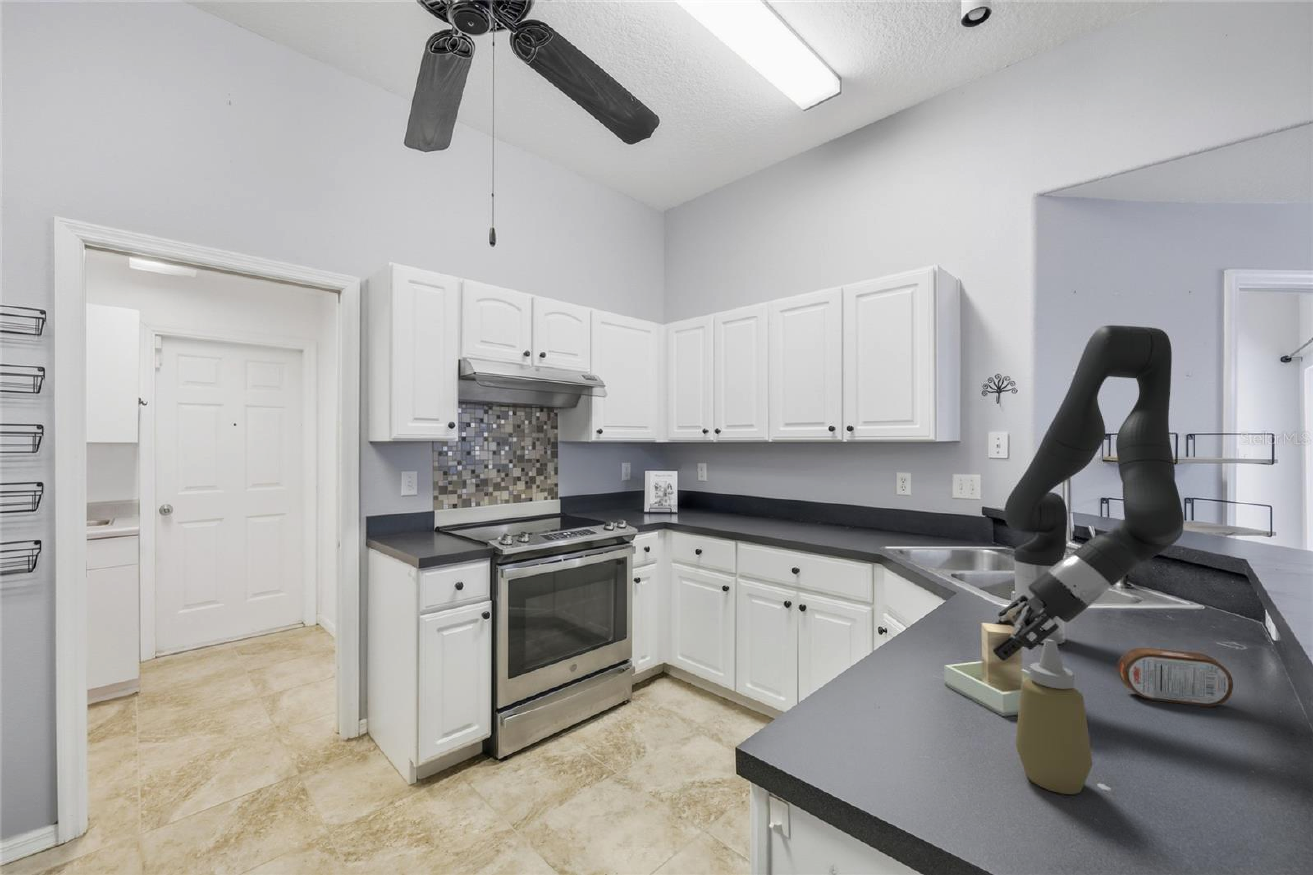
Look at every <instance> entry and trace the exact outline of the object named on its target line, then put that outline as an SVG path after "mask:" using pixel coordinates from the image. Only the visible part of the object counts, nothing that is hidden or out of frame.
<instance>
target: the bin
mask: <svg viewBox="0 0 1313 875" xmlns="http://www.w3.org/2000/svg"><path fill="white" fill-rule="evenodd" d="M943 666H944V673H943V674H944V686H946V687H948V688H950V689H952V690H953V691H955V692H957V693H960V694H961V695H963V696H965V697H966V698H968V699H970V700H972V701H973V702H976V703H978V704H979V705H981V706H983V707H984V708H987V709H989V710H990V711H992V712H995V713H996V714H997V715H1000V716H1002V717H1008V716H1009V717H1010V716H1015V715H1018V713H1019V704H1020V694H1021V690H1015V691H1007V692H1001V691H999V690H997V689H995V688H993V687H991V686H989V685H987V684H985V683H983V682H982V660H980V661H972V662H965V663H964V662H963V663H956V664H955V663H954V664H947V665H946V664H945V665H943ZM1029 678H1030V670H1029V671H1028V670H1026V669H1024V668H1022V682H1024V681H1025V680H1027V679H1029Z"/></svg>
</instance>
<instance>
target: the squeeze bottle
mask: <svg viewBox="0 0 1313 875" xmlns="http://www.w3.org/2000/svg"><path fill="white" fill-rule="evenodd" d="M1029 672H1030V678H1029V679H1027V680H1025V681H1024V682H1022V684H1021V694H1020V704H1019V713H1018V714H1017V715H1018V716H1017V725H1016V734H1015V735H1016V736H1015V747H1016V750H1017V753H1018V756H1019V759H1020V761H1021V764H1022V766H1023V770H1024V772H1025V776H1026V777H1027V778H1028V779H1029V780H1030V781H1031V782H1032V783H1034V784H1035V785H1038V786H1039V787H1041V788H1043V789H1046V790H1048V791H1050V792H1055V793H1058V794H1064V795H1075V794H1079V793H1081V791H1082V789H1083V788H1084V785H1085V784H1086V781H1087V778H1088V776H1089V774H1090V772H1091V769H1092V767H1093V764H1094V763H1093V756H1092V751H1091V743H1090V736H1089V728H1088V723H1087V721H1088V720H1087V714H1086V709H1085V708H1086V707H1085V701H1084V695H1083V693H1081V692H1080V691H1079V690H1078V689H1077V688H1076V687H1074V686H1075V679H1074V678H1075V676H1074V673H1073V671H1072V670H1070V669H1069V668H1066V667H1064V666H1063V662H1062V659H1061V655H1060V652H1059V647H1058V644H1057V643H1056V641H1055V640H1051V639H1045V642H1044V643H1043V647H1042V651H1041V656H1040V658H1039V662H1033V663H1031V664H1030V665H1029Z"/></svg>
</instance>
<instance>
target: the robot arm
mask: <svg viewBox="0 0 1313 875" xmlns="http://www.w3.org/2000/svg"><path fill="white" fill-rule="evenodd" d="M1171 344H1172V343H1171V341H1170V337H1169V335H1168V334H1167V333H1166V332H1165V331H1164V330H1163V329H1160V328H1156V327H1149V326H1134V325H1132V326H1131V325H1113V324H1112V325H1103V326H1100V327H1099V328H1098V329H1096V331H1095V332H1093V334H1092V336H1090V338H1089V339H1088V341H1087V343H1086V345H1085V348H1084V349H1083V353H1082V354H1081V356H1080V360H1079V362H1078V365H1077V367H1076V370H1075V373H1074V376H1073V378H1072V380H1071V383H1070V385H1069V388H1068V390H1067V392H1066V395H1065V397H1064V398H1063V401H1062V402H1061V404H1060V406H1059V408H1058V410H1057V412H1056V415H1055V416H1054V418H1053V420H1052V422H1051V423H1050V424H1049V427H1048V429H1047V431H1046V433H1045V434H1044V436H1043V438H1042V441H1041V443H1040V446H1039V447H1038V449H1037V451H1036V453H1035V454H1034V457H1033V459H1032V461H1031V462H1030V464H1029V466H1028V468H1027V469H1026V471H1025V472H1024V473H1023V476H1022V477H1021V478H1020V480H1019V481H1018V483H1017V484H1016V485H1015V486H1014V488H1013V490H1012V491H1011V493H1010V494H1009V496H1008V498H1007V500H1006V502H1005V506H1004V511H1003V512H1004V513H1003V514H1004V515H1003V516H1004V521H1005V523H1006V525H1007V526H1008V528H1010V529H1012V530H1013V531H1016V532H1022V533H1036V534H1035V537H1033V539H1032V540H1030V541H1028V542H1027V543H1024V544H1022V545H1019V546H1017V547H1016V548H1015V549H1014V554H1013V556H1014V557H1013V558H1014V559H1013V562H1014V563H1013V564H1014V590H1012V591H1011V592H1010V604H1009V605H1007V606H1006V607H1005V608H1004V609H1002V610H1001V611H1000V612H998V614H997V616H998V618H997V621H996V622H995V623H994V624H999V625H1010V626H1014V627H1015V630H1014V631H1013V633H1012V634H1011V636H1010V637H1007V638H1006V639H1005V640H1004V641H1002V642H1001V643H1000V644H998V645H997V646H996V647H995V648H993V652H994V653H995V654H996V655H997V656H998V657H999V658H1000V659H1001V660H1003V661H1005V660H1006V659H1008V658H1009V657H1010V656H1011V655H1013V654H1014V653H1015V652H1017V651H1018V650H1019V649H1021V647H1022V649H1028V651H1031V650H1034V648H1035V647H1037V646H1038V645H1039V644H1044V642H1045V639H1051V640H1055V641H1056V643H1057V645H1062V644H1063V643H1065V642H1066V641H1065V638H1066V636H1065V635H1066V634H1065V623H1069V622H1070V621H1072V620H1073V619H1074V618H1076V617H1077V616H1079V615H1080V614H1081V613H1082V612H1084V611H1085V610H1087V608H1089V607H1090V606H1092V604H1094V603H1095V602H1097V601H1098V600H1099V599H1101V598H1102V597H1103V596H1104V595H1105V594H1106V593H1107V592H1108V591H1109V590H1110V589H1111V588H1112V587H1113V586H1114V585H1116V584H1118V582H1120V581H1121V580H1122V579H1123V578H1125V577H1126V576H1127V575H1129V574H1130V573H1131V572H1132V571H1133V570H1135V568H1136V567H1137V568H1138V566H1140V565H1142V564H1143V563H1145V562H1147V561H1149V560H1151V559H1153V558H1154V557H1156V556H1157V555H1160V554H1161V553H1162V552H1164V551H1165V550H1167V549H1169V548H1170V547H1171V546H1172V545H1173V544H1175V543H1177V541H1178V540H1179V539H1180V538H1181V536H1182V534H1183V532H1184V522H1185V520H1184V519H1185V517H1184V511H1183V507H1182V502H1181V498H1180V493H1179V490H1178V487H1177V483H1176V479H1175V478H1176V469H1175V461H1174V456H1173V451H1172V450H1173V449H1172V444H1171V438H1170V437H1171V436H1170V426H1169V425H1170V422H1169V419H1170V418H1169V416H1170V413H1169V412H1170V400H1171V399H1170V398H1171V383H1172V362H1173V361H1172V358H1173V353H1172V351H1173V350H1172V346H1171ZM1108 377H1110V378H1111V377H1112V378H1123V379H1136V382H1137V387H1138V396H1137V397H1138V398H1137V401H1136V403H1135V404H1134V406H1133V408H1132V410H1131V411H1130V412H1129V414H1128V415H1127V417H1126V418H1125V419H1124V422H1123V423H1122V424H1121V426H1120V428H1119V429H1118V433H1117V434H1116V435H1117V436H1116V440H1115V441H1116V442H1115V448H1116V449H1115V450H1116V457H1117V458H1116V459H1117V466H1118V467H1117V468H1118V473H1119V476H1120V480H1121V482H1122V500H1123V502H1122V503H1123V504H1122V505H1123V515H1124V519H1123V520H1122V521H1121V522H1119V523H1118V524H1116V525H1115V526H1114V527H1113V528H1111V529H1110V530H1108V531H1107V532H1106V533H1104V534H1097V535H1095V536H1093V537H1092V538H1090V539H1089V540H1087V541H1086V542H1085V543H1083V544H1081V545H1080V547H1078V548H1077V549H1076V550H1074V551H1073V552H1072V553H1071V554H1070V555H1068V556H1066V557H1065V555H1066V551H1067V534H1068V531H1067V530H1068V509H1067V505H1066V502H1065V500H1064V498H1063V497H1062V496H1061V495H1060V494H1059V493H1056V492H1052V490H1053V489H1054V488H1056V487H1057V486H1059V485H1060V484H1062V483H1064V482H1065V481H1067V480H1068V479H1070V478H1072V477H1074V476H1075V475H1076V474H1078V473H1080V472H1081V471H1082V470H1084V469H1085V468H1086V467H1087V466H1088V465H1089V464H1090V463H1091V462H1092V460H1093V459H1094V458H1095V456H1096V454H1097V452H1098V451H1099V449H1100V448H1101V446H1102V444H1103V442H1104V441H1105V440H1104V439H1105V438H1106V425H1105V421H1104V417H1103V415H1102V411H1101V408H1100V406H1099V399H1098V398H1099V397H1098V396H1099V393H1100V391H1101V388H1102V385H1103V383H1104V382H1105V381H1106V379H1107V378H1108ZM1064 557H1065V558H1064Z"/></svg>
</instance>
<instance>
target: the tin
mask: <svg viewBox="0 0 1313 875" xmlns="http://www.w3.org/2000/svg"><path fill="white" fill-rule="evenodd" d="M1117 674H1118V676H1119V679H1120V680H1121V682H1122V683H1123V684H1124V685H1125V686H1126V687H1127V688H1128V689H1130V690H1131V691H1132V692H1134V694H1137V696H1140V697H1142V698H1143V699H1147V700H1151V701H1159V702H1167V703H1175V704H1181V705H1183V704H1184V705H1190V706H1199V707H1217V706H1219V705H1221V704H1223V703H1226V701H1227V700H1228V699H1230V697H1231V696H1232V694H1233V690H1234V681H1233V677H1232V675H1231V674H1230V672H1229V671H1228V670H1227V669H1226V668H1225V666H1223V664H1220V663H1219V662H1218V661H1217V660H1215V659H1214V658H1212V657H1211V656H1209V655H1207V654H1204V653H1199V652H1193V651H1182V650H1175V649H1174V650H1173V649H1163V648H1156V647H1155V648H1154V647H1144V646H1143V647H1142V646H1141V647H1135V648H1132V649H1130V650H1127V651H1126V652H1124V654H1122V656H1120V658H1119V660H1118V663H1117Z"/></svg>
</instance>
